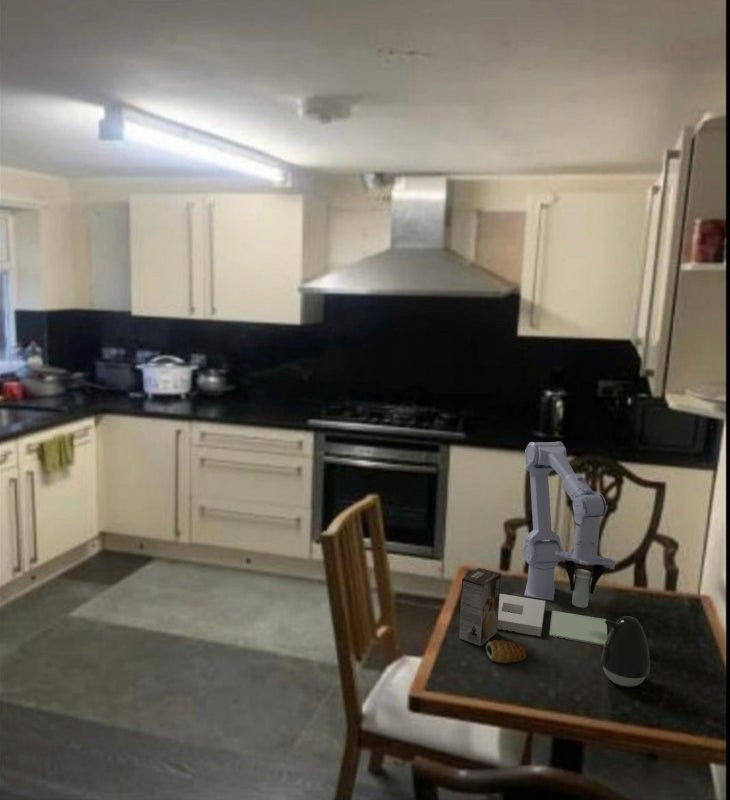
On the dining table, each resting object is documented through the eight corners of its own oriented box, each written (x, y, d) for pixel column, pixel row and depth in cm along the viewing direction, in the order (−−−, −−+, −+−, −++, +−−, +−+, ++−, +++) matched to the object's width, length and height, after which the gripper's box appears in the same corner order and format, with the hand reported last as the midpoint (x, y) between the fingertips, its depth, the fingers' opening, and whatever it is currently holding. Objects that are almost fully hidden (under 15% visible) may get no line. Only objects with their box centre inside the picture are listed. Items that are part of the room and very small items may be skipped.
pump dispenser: (593, 667, 165) (599, 606, 163) (638, 669, 165) (644, 608, 162) (606, 692, 155) (612, 627, 153) (654, 694, 155) (661, 629, 152)
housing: (486, 599, 198) (486, 591, 198) (544, 609, 194) (545, 600, 193) (477, 625, 183) (478, 616, 183) (540, 636, 179) (541, 627, 178)
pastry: (520, 649, 173) (521, 634, 172) (530, 664, 166) (531, 649, 165) (483, 650, 171) (484, 636, 171) (492, 665, 165) (493, 650, 164)
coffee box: (475, 625, 184) (479, 566, 181) (497, 633, 180) (502, 573, 177) (458, 638, 176) (461, 577, 174) (481, 647, 172) (485, 585, 170)
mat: (552, 612, 192) (552, 610, 192) (606, 621, 188) (606, 619, 188) (549, 636, 179) (549, 634, 179) (607, 646, 175) (607, 644, 175)
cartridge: (571, 598, 185) (574, 568, 184) (588, 601, 184) (592, 571, 182) (570, 605, 181) (574, 574, 180) (588, 609, 180) (592, 577, 178)
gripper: (556, 541, 178) (551, 592, 180) (617, 549, 174) (611, 601, 176) (557, 532, 185) (553, 581, 187) (616, 540, 180) (611, 590, 183)
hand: (581, 590), depth 182 cm, fingers closed on cartridge, 4 cm apart
